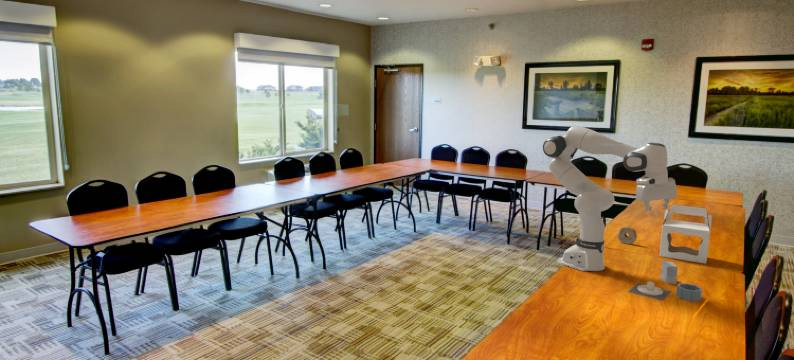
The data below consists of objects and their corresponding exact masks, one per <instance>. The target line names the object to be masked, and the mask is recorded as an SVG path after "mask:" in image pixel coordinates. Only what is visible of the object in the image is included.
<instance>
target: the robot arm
mask: <svg viewBox="0 0 794 360" xmlns="http://www.w3.org/2000/svg"><path fill="white" fill-rule="evenodd" d="M578 150H580V151H582V152H583V153H584V152H585V153H587V154H591V155H597V156H598V155H613V156H617V157H620V158H622V159H623V160H622V163H623V167H624V168H625V169H626V170H627V171H630V172H635V173H636V172H643V171H644V172H645V174H644V175H642V176H641V177H639V178H637V179H636V180H635V183H636V184H637V185H636V188H635V198H636V200H637V202H643V205H644V207H645V211H646V212H650V211H652V206H650V202H652V201H659V200H661V201H662V200H663V201H664V202H663V204H662V207H661V208H662V209H664V210H666V209H667V210H669V204H670V203H671V199H676V198H677V196H678V191H677V186H676V185H677V184H676V180H675V178H673V177H668V176H669V174H668V168H667V166H668V150H667V147H666V145H665V144H664V143H658V142H647V143H646V144H645V145H644V146H642V147H639V148H636V147H633V146H630V145H628V144H624V143H622V142H619V141H616V140H614V139H613V138H611V137H608V136H606V135H604V134H602V133H601V132H597V131H595V130H594V129H590V128H587V127H584V126H581V125H573V126H571V127H569V128H568V129H567V131H566V133H565V135H557V136H552V137H548V138H547V139H545V141H544V142H543V144H542V151H543V153H544V154H545V156H547V157H549V158H551V159H552V160H551V161H550V162H549V163H548V164H549V165H548V167H549V170H550V171H551V173H552V175H553V176H554V178H555V179H556V180H557V181H558V182H559V183H560V184H561V185H562V186H563V187H564V188H565V189H566V190H567V191H568V192H569V193H570V194H573V195H575V196H576V197H575V200H574V208H575V209H576V211H577V212H578V214H579V219H580V231H579V233H580V235H579V236H578V237H576V239H575V240H574V243H575V244H574V245H572V246H570V247H569V248H567V249H565V250H564V252H563V255H562V257H560V258H558V259H557V263H558V264H560V265H563V266H565V267H568V266H569V267H570V268H572V269H575V270H579V271H582V272H587V271H588V272H589V271H591V272H600V271H603V270H605V269H606V268H605V262H604V251H605V240H604V239H605V230H606V229H605V228H606V226H605V223H604V222H603V220H602V215H601V214H602V212H604V211H606V210H609V209H610V208H611V207H612V206H613V205H614V203H615V196H614V194H613V193H612V192H611V190H609V189H606V188H603V187H602V186H601V185H599V184H597V183H596V182H594V181H593V180H591V179H590V178H589V177H587V176H586V175H585V174H584V173H583V172H582V171H581V170H580V169H579V168H577V167H576V165H575V164H574V163H572V162H571V160H572V159H574V157H575V154H576V153H577V151H578ZM569 267H568V268H569Z"/></svg>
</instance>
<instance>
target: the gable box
mask: <svg viewBox="0 0 794 360" xmlns="http://www.w3.org/2000/svg"><path fill="white" fill-rule="evenodd" d="M707 211H708V210H707V208H706V207H698V206H691V205H681V204H672V205H670V209H665V211H664V217H663V219H664V221H663V223H662V227H661V236H660V247H659V248H660V249H659V257H661V258H662V257H663V258H667V259H675V260H681V261H686V262H694V263H699V264H707V259H708V254H709V253H708V252H709V246H710V245H709V244H710V237H711V229H712V228H711V227H712V221H713V220H712V218H713V217H712V216H713V215H712V214H708V212H707ZM672 214H681V215H689V216H695V217H696V216H698V217H702V218H703V217H704V223H701V222H700V223H699V222H694V221H693V222H692V221H686V220H685V221H684V220H677V219H671V216H672ZM671 233H677V234H681V235H685V236H689V237H690V236H693V237H699V238H701V240H700V243H699V247H698V249H694V248H691V247H688V246H682V245H681V246H675V245H674V246H673V245H672V239H673V238H672V235H671Z"/></svg>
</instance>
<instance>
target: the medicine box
mask: <svg viewBox="0 0 794 360" xmlns="http://www.w3.org/2000/svg"><path fill="white" fill-rule="evenodd" d="M661 265H662V266H661V273H660V274H661V275H660V279H661V280H662V281H664V283H665V284H671V285H672V284H673V285H677V281H678V279H677V278H678V268H679V267H678V266H677V265H676V264H675V263H674V262H673V261H662V263H661Z"/></svg>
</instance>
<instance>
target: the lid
mask: <svg viewBox="0 0 794 360" xmlns="http://www.w3.org/2000/svg"><path fill="white" fill-rule="evenodd" d="M661 289H662V288H660V287H657V286H655V282H653V281H646V284H643V285H640V286H638V287H637V290H638V291H639V292H640V293H643V294H646V295H651V296H660V295H662V294H663V290H661Z"/></svg>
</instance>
